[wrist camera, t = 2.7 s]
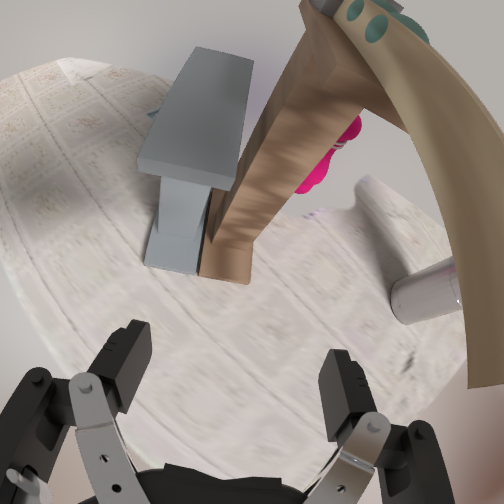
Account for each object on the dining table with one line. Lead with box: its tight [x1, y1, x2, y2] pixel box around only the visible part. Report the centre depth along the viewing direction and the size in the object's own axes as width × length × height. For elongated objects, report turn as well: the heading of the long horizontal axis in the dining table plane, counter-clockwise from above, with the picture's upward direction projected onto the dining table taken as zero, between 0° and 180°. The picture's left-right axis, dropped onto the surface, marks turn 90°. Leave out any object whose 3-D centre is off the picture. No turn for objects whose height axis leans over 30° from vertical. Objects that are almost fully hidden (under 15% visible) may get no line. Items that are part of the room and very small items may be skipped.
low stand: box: [137, 47, 254, 275], centre depth 28 cm, size 7×16×23 cm, turn 175°
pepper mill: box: [294, 115, 362, 194], centre depth 40 cm, size 7×7×20 cm
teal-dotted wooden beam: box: [309, 0, 504, 389], centre depth 8 cm, size 5×25×4 cm, turn 0°
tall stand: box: [198, 0, 409, 285], centre depth 26 cm, size 7×16×32 cm, turn 175°
